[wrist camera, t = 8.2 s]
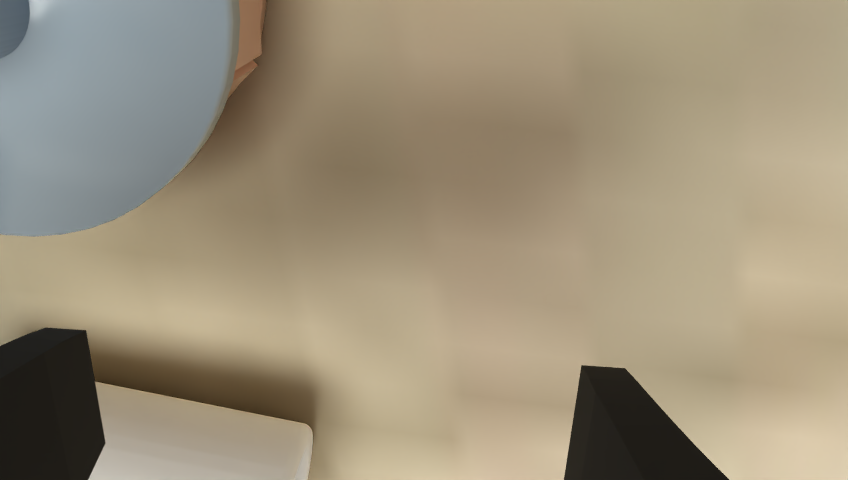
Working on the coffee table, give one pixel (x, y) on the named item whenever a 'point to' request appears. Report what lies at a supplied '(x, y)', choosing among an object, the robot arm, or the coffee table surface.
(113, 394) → the mug
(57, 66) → the lid
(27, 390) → the robot arm
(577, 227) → the coffee table surface
